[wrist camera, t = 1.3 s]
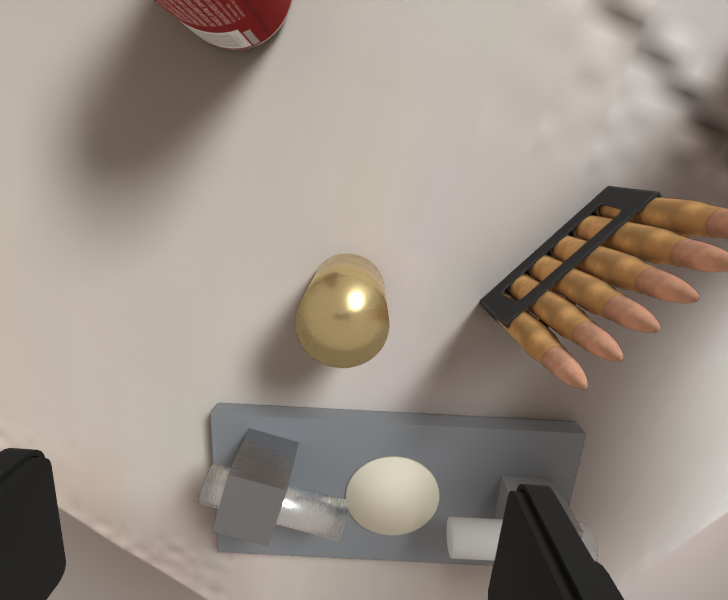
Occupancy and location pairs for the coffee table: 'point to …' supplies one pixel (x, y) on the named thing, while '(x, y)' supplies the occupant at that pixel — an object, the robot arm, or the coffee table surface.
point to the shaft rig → (407, 478)
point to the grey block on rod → (268, 494)
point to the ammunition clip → (605, 274)
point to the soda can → (230, 20)
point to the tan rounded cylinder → (343, 312)
